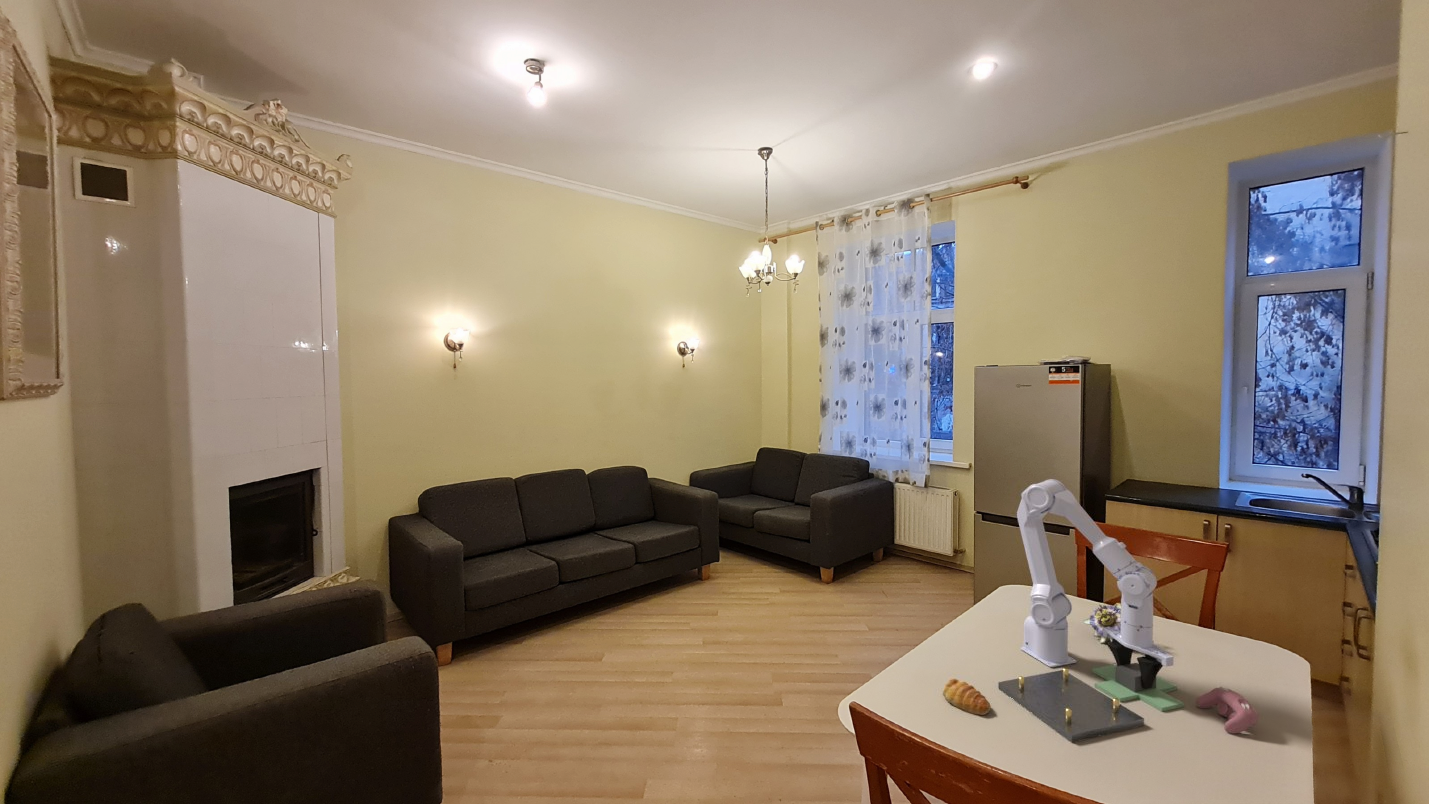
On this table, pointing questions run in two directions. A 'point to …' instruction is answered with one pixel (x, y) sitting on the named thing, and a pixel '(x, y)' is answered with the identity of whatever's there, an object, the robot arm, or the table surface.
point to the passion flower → (1105, 620)
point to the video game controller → (1230, 708)
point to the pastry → (966, 697)
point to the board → (1144, 696)
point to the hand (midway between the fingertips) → (1135, 681)
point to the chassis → (1070, 705)
